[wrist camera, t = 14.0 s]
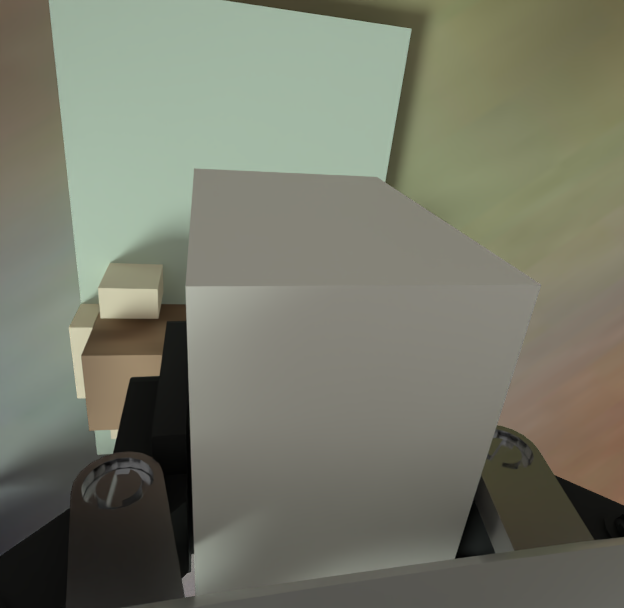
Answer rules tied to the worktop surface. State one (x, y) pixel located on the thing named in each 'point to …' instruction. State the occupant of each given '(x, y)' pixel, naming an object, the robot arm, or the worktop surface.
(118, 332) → the brown block
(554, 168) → the worktop surface
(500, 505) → the robot arm
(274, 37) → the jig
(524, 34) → the worktop surface
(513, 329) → the white rectangular brick
